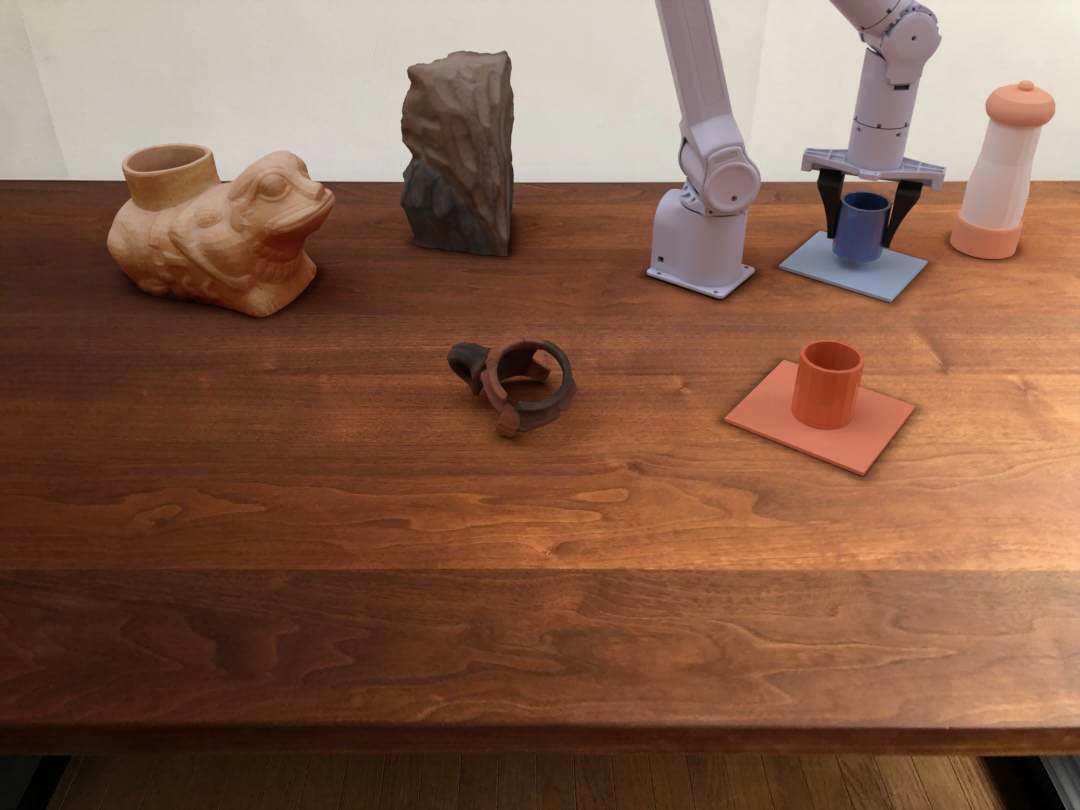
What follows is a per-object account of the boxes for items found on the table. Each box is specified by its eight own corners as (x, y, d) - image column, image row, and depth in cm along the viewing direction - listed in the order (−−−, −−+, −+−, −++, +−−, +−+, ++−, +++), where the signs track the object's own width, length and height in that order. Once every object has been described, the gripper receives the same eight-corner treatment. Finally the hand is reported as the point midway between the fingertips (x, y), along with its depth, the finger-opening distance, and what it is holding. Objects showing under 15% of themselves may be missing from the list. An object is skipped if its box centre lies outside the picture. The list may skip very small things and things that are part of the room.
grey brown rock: (400, 246, 122) (386, 73, 110) (434, 202, 132) (425, 39, 120) (506, 258, 119) (503, 83, 108) (532, 212, 129) (532, 47, 118)
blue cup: (828, 257, 116) (837, 206, 112) (835, 237, 120) (844, 187, 117) (878, 265, 114) (889, 214, 111) (884, 245, 118) (894, 195, 115)
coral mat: (723, 421, 94) (724, 417, 94) (783, 362, 102) (783, 359, 102) (863, 476, 88) (863, 472, 87) (914, 409, 96) (915, 405, 95)
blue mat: (778, 268, 118) (778, 265, 118) (819, 233, 125) (819, 230, 125) (890, 302, 111) (891, 299, 111) (927, 264, 119) (927, 260, 119)
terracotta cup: (780, 415, 94) (789, 359, 91) (806, 388, 98) (816, 332, 94) (837, 437, 91) (849, 379, 88) (861, 408, 95) (874, 352, 92)
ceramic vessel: (306, 332, 106) (286, 193, 97) (88, 290, 113) (51, 157, 104) (368, 271, 117) (355, 140, 108) (165, 236, 124) (138, 111, 115)
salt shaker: (1021, 240, 124) (1070, 78, 113) (1007, 265, 119) (1056, 97, 108) (958, 226, 127) (999, 66, 116) (942, 249, 122) (983, 84, 111)
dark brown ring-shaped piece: (578, 383, 100) (594, 342, 92) (549, 471, 95) (563, 435, 88) (458, 342, 100) (464, 298, 92) (423, 428, 95) (427, 388, 88)
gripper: (804, 123, 108) (785, 243, 115) (953, 142, 103) (923, 266, 111) (815, 101, 113) (797, 217, 121) (957, 119, 109) (929, 238, 117)
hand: (858, 239), depth 116 cm, fingers closed on blue cup, 5 cm apart
